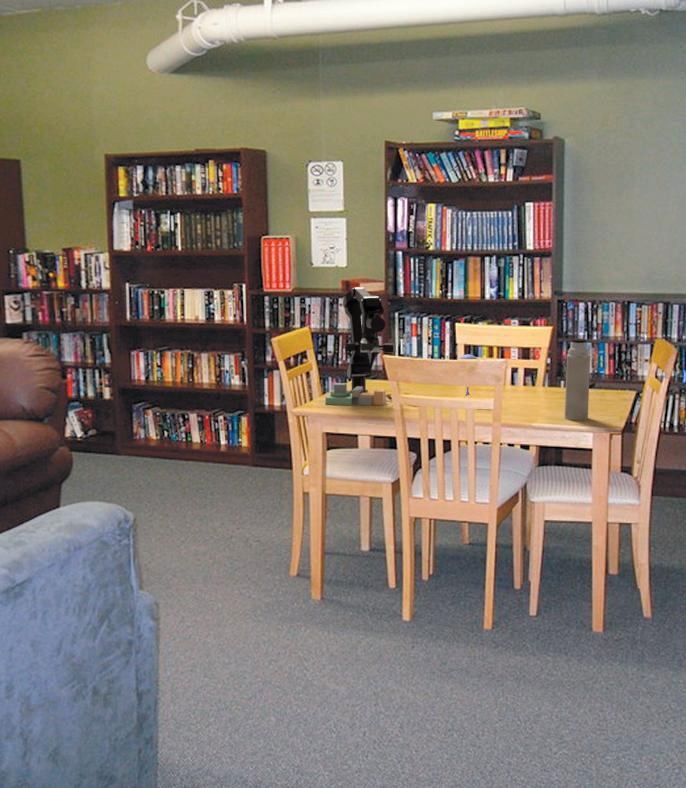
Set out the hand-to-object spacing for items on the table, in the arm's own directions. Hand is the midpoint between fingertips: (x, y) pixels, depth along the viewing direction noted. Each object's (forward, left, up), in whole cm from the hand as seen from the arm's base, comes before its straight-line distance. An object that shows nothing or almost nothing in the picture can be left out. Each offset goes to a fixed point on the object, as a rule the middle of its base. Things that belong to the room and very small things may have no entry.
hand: (370, 369), depth 411 cm
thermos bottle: (+20, +78, -12) cm, 81 cm away
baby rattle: (-6, +37, -12) cm, 39 cm away
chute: (+6, +1, -12) cm, 13 cm away
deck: (+6, -6, -12) cm, 15 cm away
